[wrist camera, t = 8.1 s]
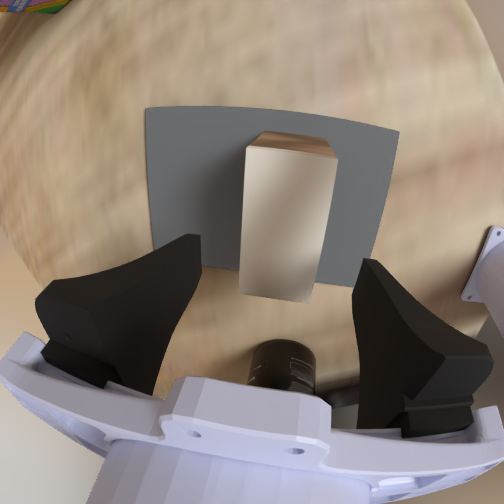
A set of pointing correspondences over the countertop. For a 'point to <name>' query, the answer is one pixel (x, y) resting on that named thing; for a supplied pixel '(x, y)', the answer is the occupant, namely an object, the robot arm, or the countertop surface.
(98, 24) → the countertop surface
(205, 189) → the slate mat
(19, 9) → the chalk box
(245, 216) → the beige rectangular block
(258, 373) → the supplement bottle
